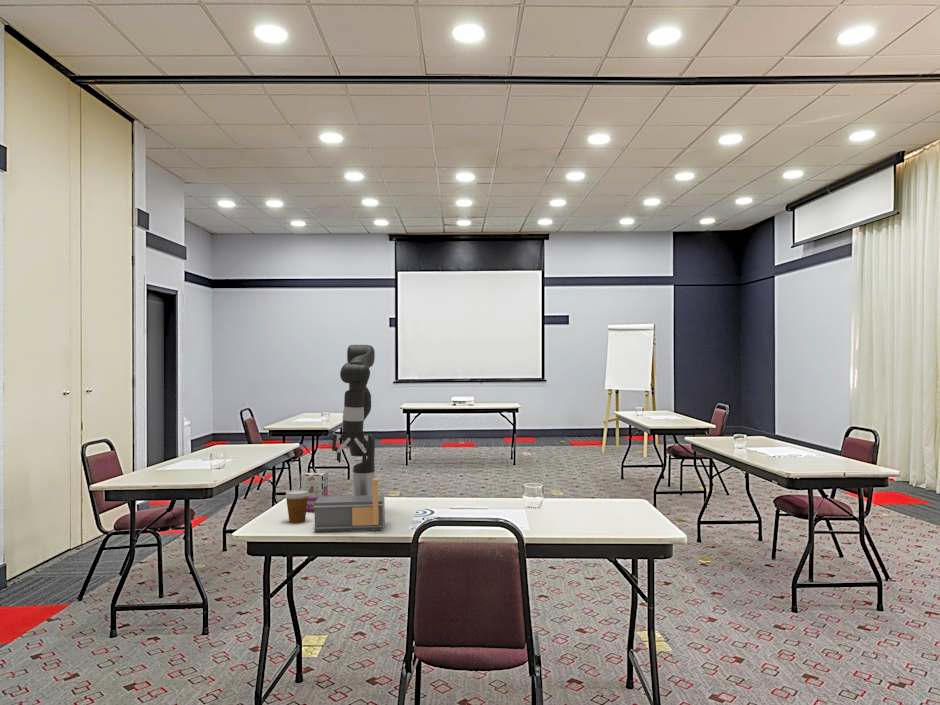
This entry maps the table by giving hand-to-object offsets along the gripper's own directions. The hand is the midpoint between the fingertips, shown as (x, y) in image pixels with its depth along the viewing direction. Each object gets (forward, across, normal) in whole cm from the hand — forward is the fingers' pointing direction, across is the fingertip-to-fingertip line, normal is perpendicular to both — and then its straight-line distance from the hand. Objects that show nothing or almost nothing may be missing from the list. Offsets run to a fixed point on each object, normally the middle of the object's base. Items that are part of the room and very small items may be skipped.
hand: (351, 462), depth 240 cm
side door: (+26, -6, -8) cm, 28 cm away
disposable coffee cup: (+32, +21, -31) cm, 49 cm away
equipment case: (+29, -1, -17) cm, 34 cm away
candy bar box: (+33, +15, -48) cm, 60 cm away
